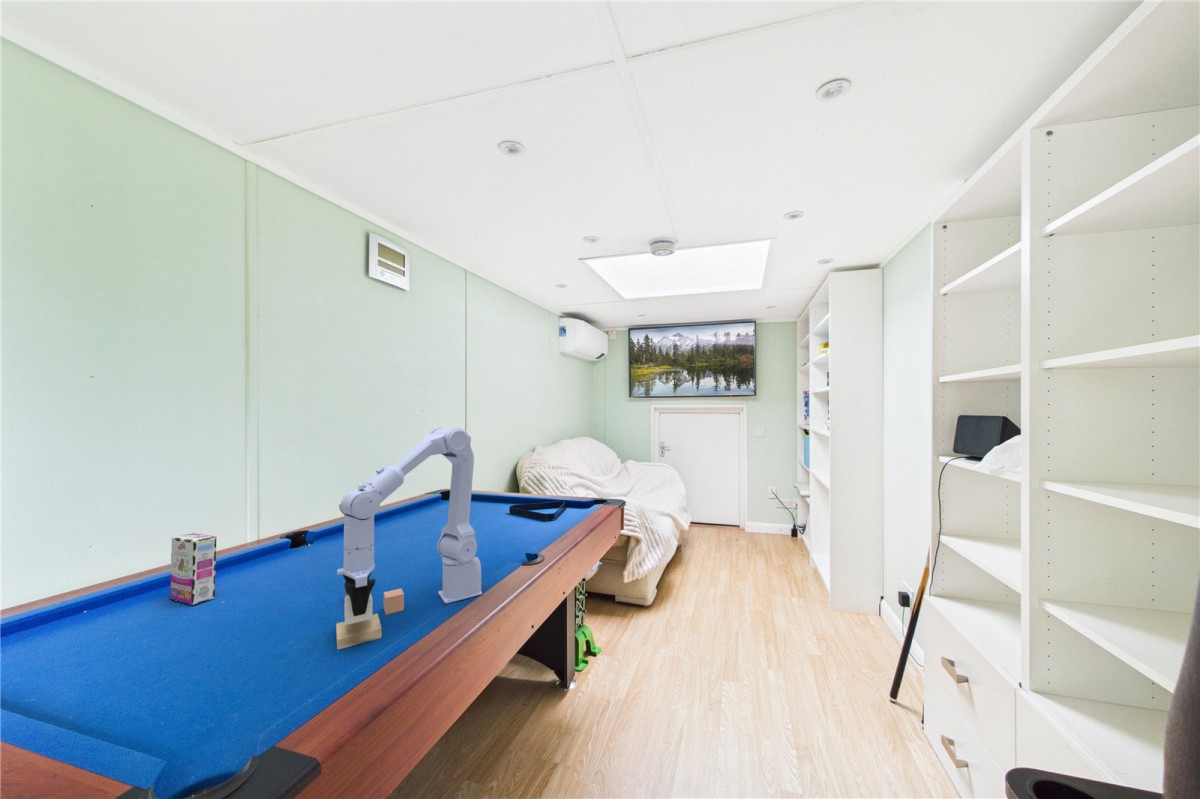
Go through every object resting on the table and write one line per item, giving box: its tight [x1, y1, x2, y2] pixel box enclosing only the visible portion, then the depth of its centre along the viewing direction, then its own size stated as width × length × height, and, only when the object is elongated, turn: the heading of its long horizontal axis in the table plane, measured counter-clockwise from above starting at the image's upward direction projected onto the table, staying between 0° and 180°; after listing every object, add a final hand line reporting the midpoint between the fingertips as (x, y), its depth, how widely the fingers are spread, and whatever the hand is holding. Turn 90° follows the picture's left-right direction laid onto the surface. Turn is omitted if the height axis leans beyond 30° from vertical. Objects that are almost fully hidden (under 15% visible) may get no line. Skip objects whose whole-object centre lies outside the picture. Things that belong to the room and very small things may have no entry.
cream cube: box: [344, 592, 374, 625], centre depth 89 cm, size 5×5×4 cm
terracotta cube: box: [383, 588, 405, 616], centre depth 101 cm, size 4×4×4 cm
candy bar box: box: [169, 532, 217, 606], centre depth 109 cm, size 11×5×16 cm, turn 68°
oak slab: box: [335, 613, 383, 651], centre depth 89 cm, size 8×8×2 cm
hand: (358, 609), depth 89 cm, fingers closed on cream cube, 5 cm apart
